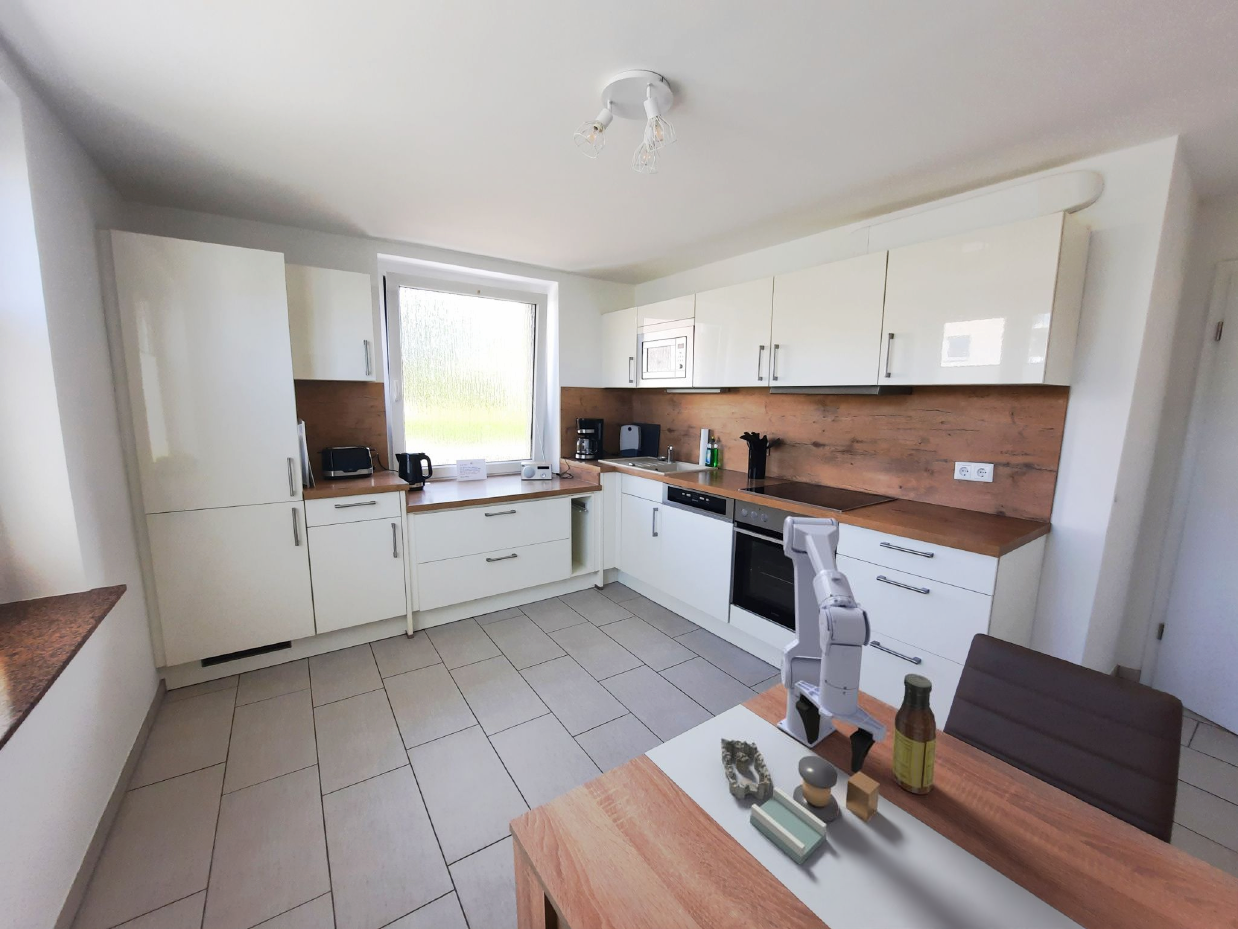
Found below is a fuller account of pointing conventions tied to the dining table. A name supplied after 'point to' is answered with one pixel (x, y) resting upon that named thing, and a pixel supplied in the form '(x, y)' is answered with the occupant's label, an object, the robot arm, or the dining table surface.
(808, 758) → the spool
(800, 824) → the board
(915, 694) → the sauce bottle
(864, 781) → the wooden block
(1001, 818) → the dining table surface
